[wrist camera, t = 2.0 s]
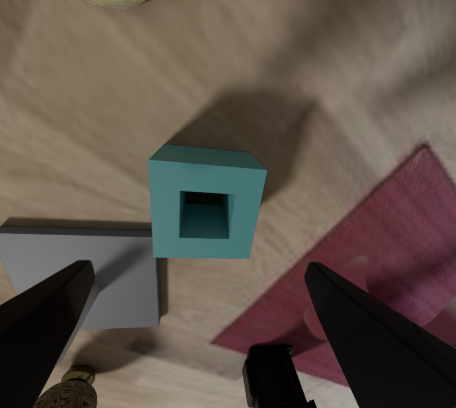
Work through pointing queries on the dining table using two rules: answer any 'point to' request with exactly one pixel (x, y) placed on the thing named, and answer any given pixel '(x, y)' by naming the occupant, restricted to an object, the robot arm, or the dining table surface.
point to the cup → (71, 391)
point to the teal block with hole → (201, 213)
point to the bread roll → (117, 3)
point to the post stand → (103, 268)
